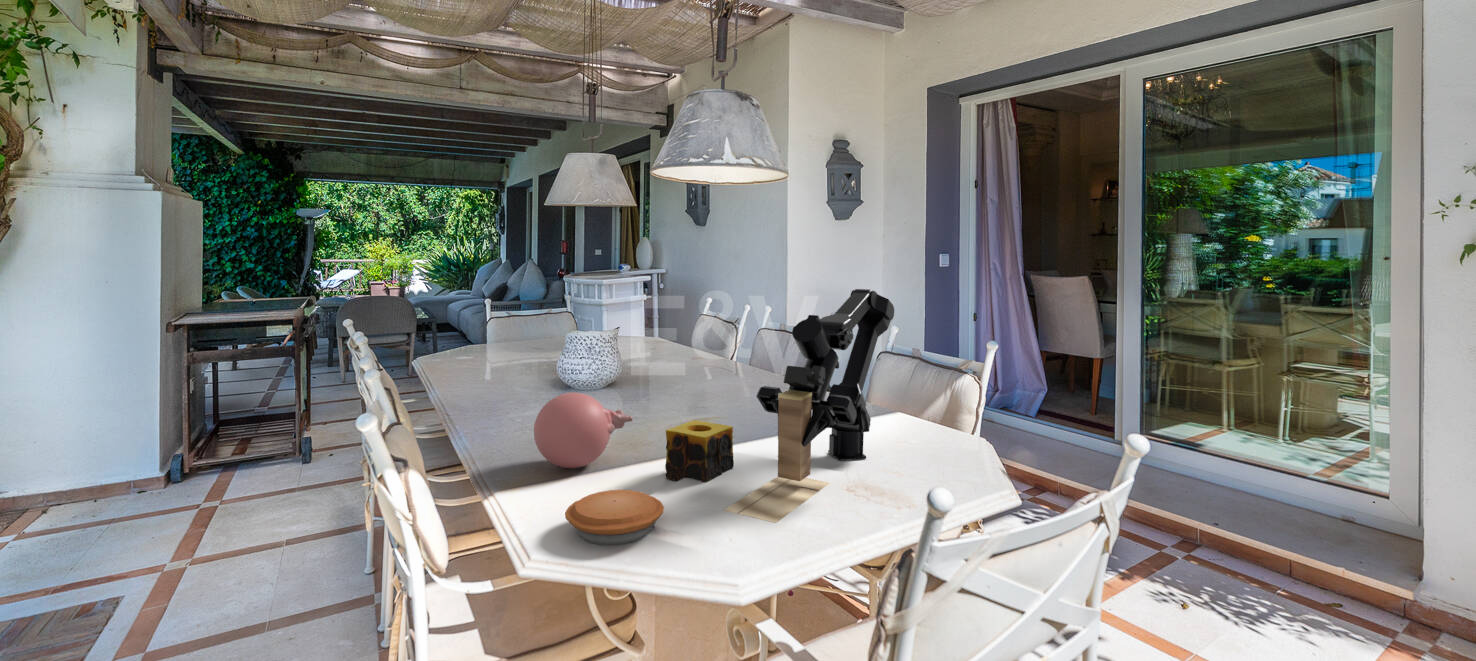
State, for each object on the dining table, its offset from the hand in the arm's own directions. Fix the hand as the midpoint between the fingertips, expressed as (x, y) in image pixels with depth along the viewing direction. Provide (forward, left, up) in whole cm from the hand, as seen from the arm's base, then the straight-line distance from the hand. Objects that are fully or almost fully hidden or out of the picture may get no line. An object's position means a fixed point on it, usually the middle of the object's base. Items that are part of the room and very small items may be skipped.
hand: (791, 443), depth 123 cm
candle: (+14, -14, -10) cm, 22 cm away
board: (+3, +3, -10) cm, 11 cm away
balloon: (+36, -26, -10) cm, 46 cm away
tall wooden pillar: (-1, -1, -7) cm, 7 cm away
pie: (+32, +8, -10) cm, 35 cm away
